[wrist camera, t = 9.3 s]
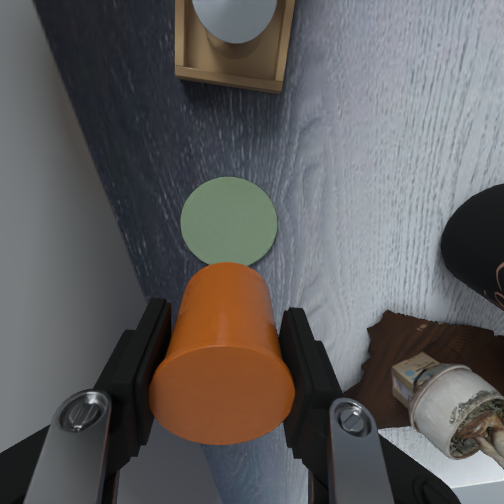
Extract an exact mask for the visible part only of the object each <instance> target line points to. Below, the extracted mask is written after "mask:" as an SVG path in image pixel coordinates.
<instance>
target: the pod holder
mask: <svg viewBox="0 0 504 504" xmlns="http://www.w3.org/2000/svg"><path fill="white" fill-rule="evenodd" d="M294 5H295V0H277V5H276V8H275V12H274V14H273V17H272V19H271V21H270V23H269V25H268V26H267V28H266V29H265V30H264V34H263V37H262V39H261V42H260V44H259V46H258V47H257V48H256V50H255V51H254V52H253V53H252V54H250V55H249V56H247V57H245V58H243V59H237V60H235V59H229V58H226V57H224V56H222V55H220V54H219V53H218V52H217V51H216V50H215V49H214V48H213V46H212V45H211V43H210V42H209V40H208V37H207V34H206V31H205V28H204V26H203V25H202V24H201V22H200V20H199V19H198V17H197V14H196V12H195V10H194V7H193V4H192V0H175V65H176V66H175V75H176V76H177V77H178V78H179V79H182V80H188V81H195V82H201V83H208V84H215V85H221V86H228V87H235V88H241V89H248V90H254V91H261V92H268V93H274V94H279V93H280V92H281V91H282V86H283V79H284V72H285V66H286V59H287V52H288V45H289V39H290V32H291V25H292V18H293V12H294Z"/></svg>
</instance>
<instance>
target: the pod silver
mask: <svg viewBox="0 0 504 504" xmlns="http://www.w3.org/2000/svg"><path fill="white" fill-rule="evenodd" d="M192 4H193V7H194V10H195V12H196V14H197V17H198V19H199V20H200V22H201V24H202V25H203V26H204V28H205V31H206V34H207V37H208V40H209V42H210V43H211V45H212V46H213V48H214V49H215V50H216V51H217V52H218V53H219V54H220V55H222V56H224V57H226V58H229V59H235V60H237V59H243V58H245V57H247V56H249V55H250V54H252V53H253V52H254V51H255V50H256V48H257V47H258V46H259V44H260V42H261V39H262V37H263V34H264V30H265V29H266V28H267V26H268V25H269V23H270V21H271V19H272V17H273V14H274V12H275V8H276V5H277V0H192Z"/></svg>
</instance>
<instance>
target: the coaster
mask: <svg viewBox="0 0 504 504" xmlns="http://www.w3.org/2000/svg"><path fill="white" fill-rule="evenodd" d="M180 224H181V232H182V235H183V238H184V241H185V243H186V245H187V246H188V248H189V249H190V250H191V252H192V253H193V254H194V255H195V256H196V257H198V258H199V259H200V260H202V261H203V262H205V263H207V264H209V265H212V264H215V263H221V262H233V263H239V264H243V265H245V266H248V265H250V264H253V263H254V262H256V261H258V260H259V259H260V258H262V257H263V256H264V255H265V254H266V253H267V252H268V250H269V249H270V248H271V246H272V244H273V242H274V240H275V237H276V233H277V227H278V222H277V214H276V211H275V208H274V205H273V203H272V201H271V200H270V198H269V197H268V195H267V194H266V193H265V192H264V191H263V190H262V189H261V188H260V187H259V186H257V185H256V184H254V183H253V182H251V181H248V180H246V179H243V178H239V177H232V176H225V177H218V178H214V179H211V180H208V181H206V182H204V183H203V184H201V185H200V186H198V187H197V188H196V189H195V190H194V191H193V192H192V193H191V194H190V196H189V197H188V199H187V200H186V202H185V204H184V207H183V209H182V213H181V221H180Z"/></svg>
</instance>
